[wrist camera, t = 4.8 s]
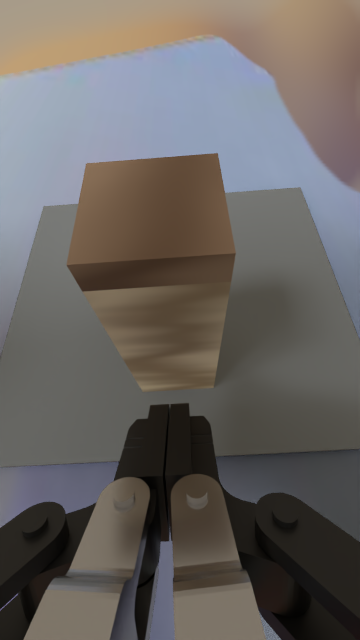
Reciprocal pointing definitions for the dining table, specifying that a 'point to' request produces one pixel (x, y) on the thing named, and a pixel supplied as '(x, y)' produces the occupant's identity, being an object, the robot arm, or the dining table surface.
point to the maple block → (157, 264)
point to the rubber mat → (233, 363)
